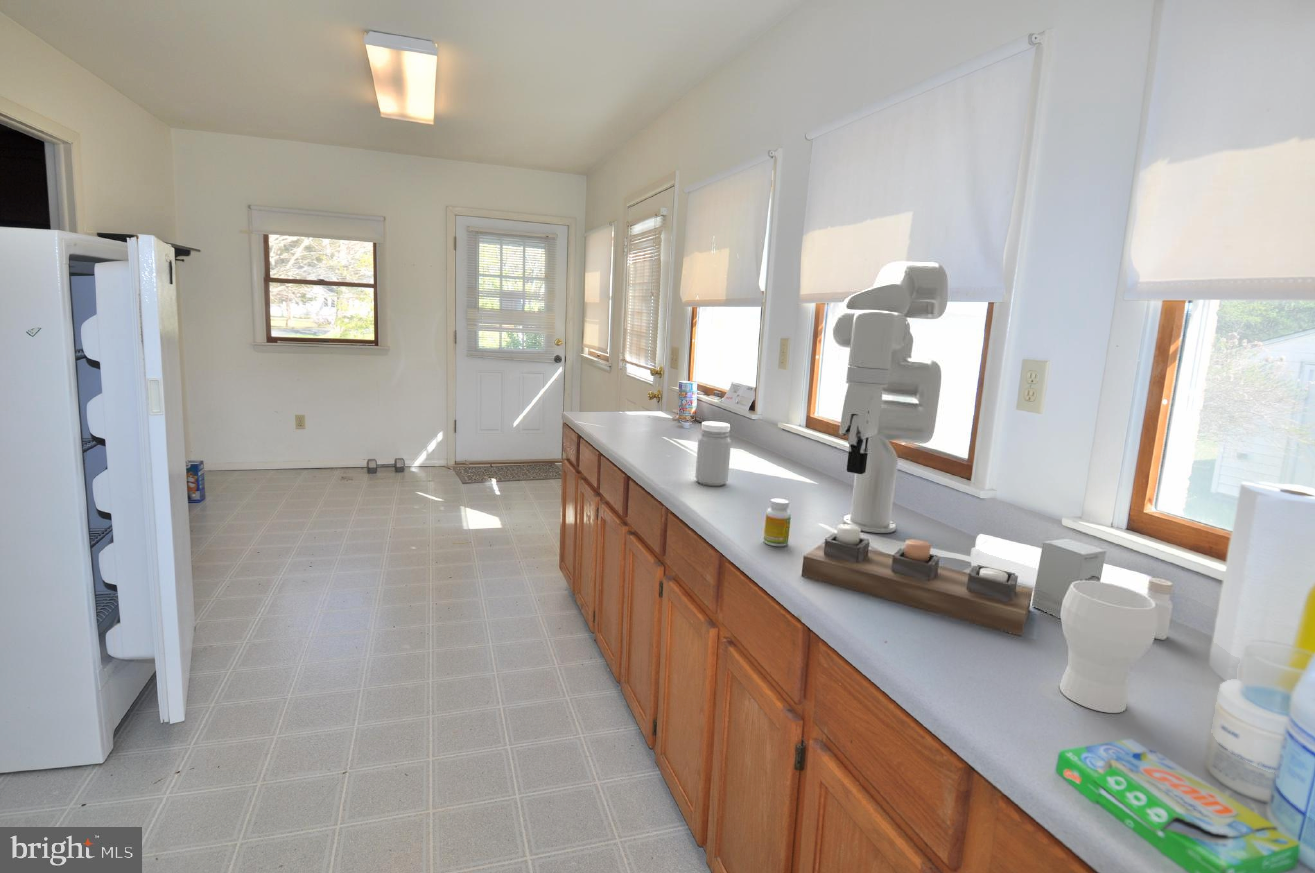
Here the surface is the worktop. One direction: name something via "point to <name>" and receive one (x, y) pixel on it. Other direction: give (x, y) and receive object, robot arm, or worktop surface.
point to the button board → (921, 584)
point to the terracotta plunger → (917, 550)
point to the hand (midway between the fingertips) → (855, 472)
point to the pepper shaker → (1161, 604)
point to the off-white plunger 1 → (848, 534)
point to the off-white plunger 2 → (993, 574)
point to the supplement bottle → (777, 523)
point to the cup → (1104, 642)
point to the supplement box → (1064, 571)
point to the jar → (713, 454)
